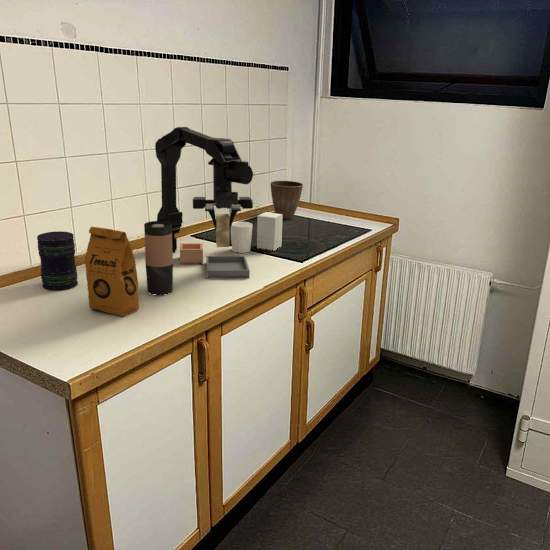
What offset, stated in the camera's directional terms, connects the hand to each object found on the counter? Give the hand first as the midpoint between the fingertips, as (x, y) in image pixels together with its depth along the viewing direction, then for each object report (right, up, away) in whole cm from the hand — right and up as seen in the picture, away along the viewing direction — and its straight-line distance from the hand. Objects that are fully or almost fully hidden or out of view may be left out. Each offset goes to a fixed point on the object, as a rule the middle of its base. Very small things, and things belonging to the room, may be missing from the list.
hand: (222, 229), depth 172 cm
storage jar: (-46, -18, -15) cm, 52 cm away
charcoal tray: (+1, -13, +4) cm, 14 cm away
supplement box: (+15, -4, +30) cm, 34 cm away
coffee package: (-26, -24, -30) cm, 46 cm away
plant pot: (+21, +12, +77) cm, 81 cm away
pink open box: (-12, -10, +12) cm, 19 cm away
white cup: (+4, -6, +25) cm, 26 cm away
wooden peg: (0, -5, +2) cm, 5 cm away
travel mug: (-17, -20, -16) cm, 30 cm away
